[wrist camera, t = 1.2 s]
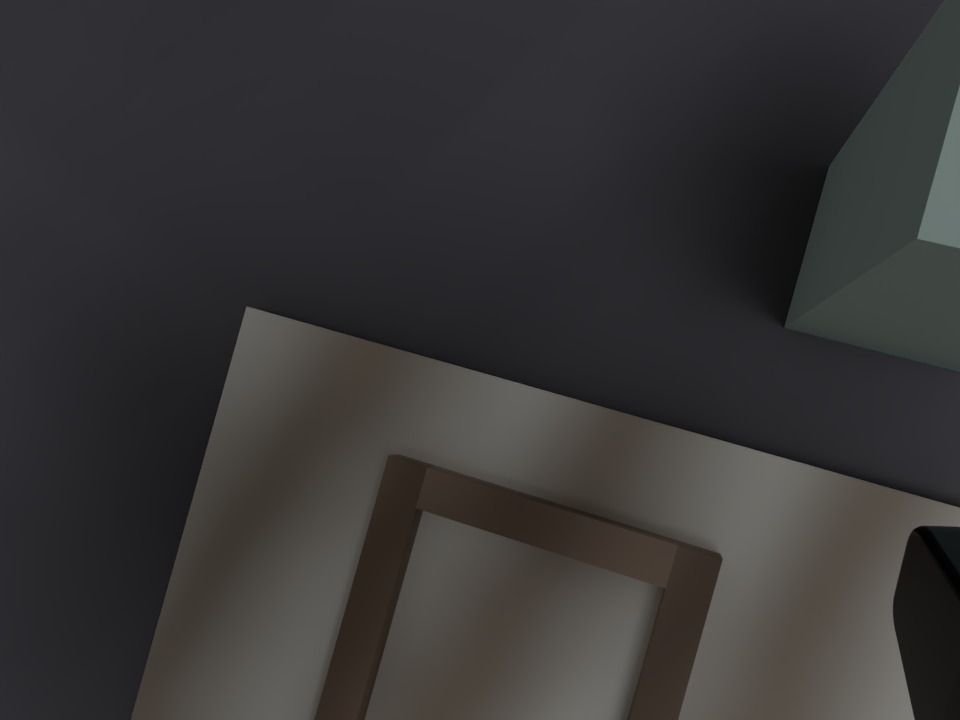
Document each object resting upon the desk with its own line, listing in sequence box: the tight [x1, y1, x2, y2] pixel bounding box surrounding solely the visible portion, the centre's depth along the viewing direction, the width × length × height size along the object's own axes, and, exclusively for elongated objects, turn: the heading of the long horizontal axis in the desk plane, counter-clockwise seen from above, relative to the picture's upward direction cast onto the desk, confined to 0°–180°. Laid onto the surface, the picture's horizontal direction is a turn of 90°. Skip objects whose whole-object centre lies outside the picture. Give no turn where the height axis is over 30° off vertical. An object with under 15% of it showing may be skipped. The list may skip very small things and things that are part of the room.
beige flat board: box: [131, 307, 960, 720], centre depth 21 cm, size 18×13×2 cm
